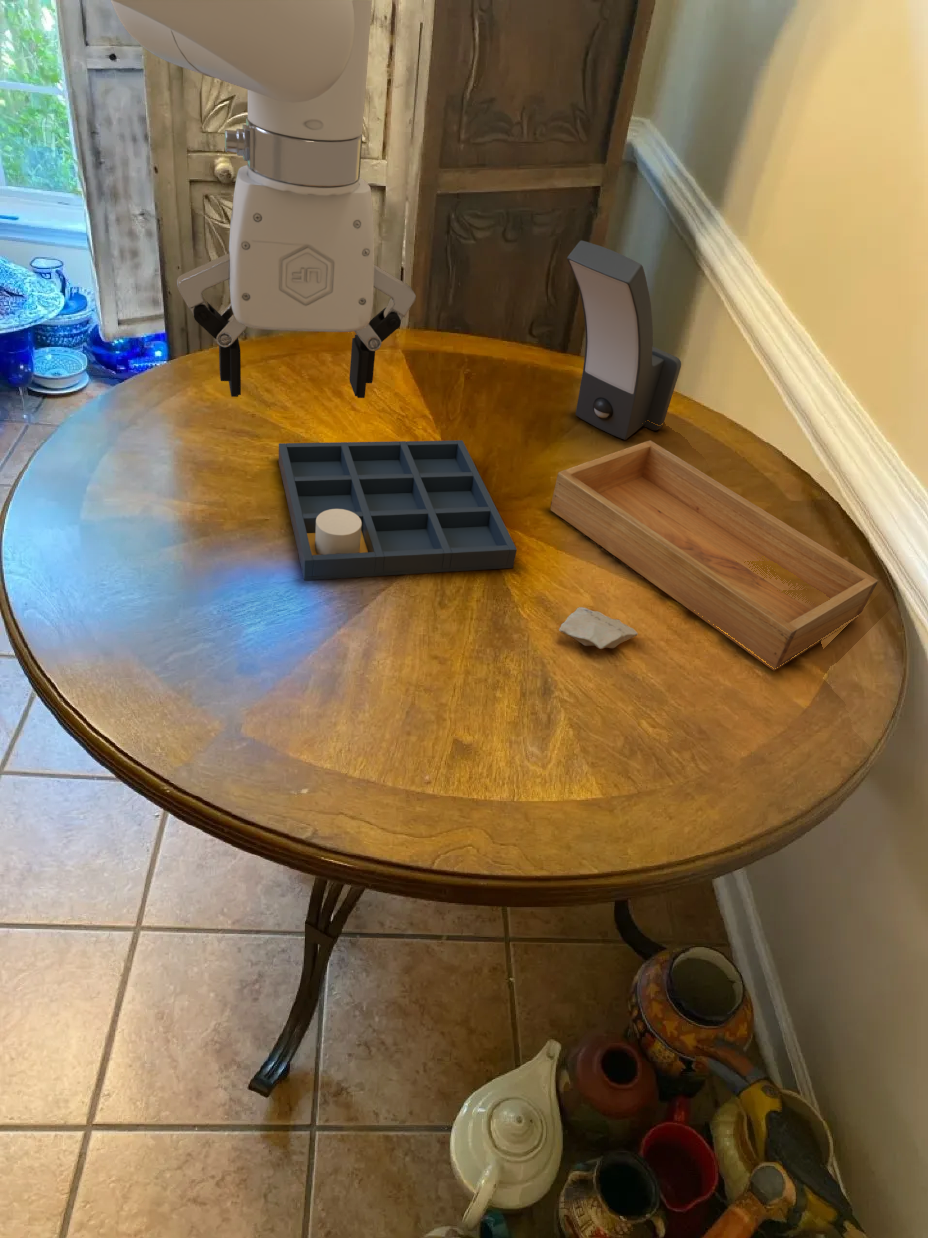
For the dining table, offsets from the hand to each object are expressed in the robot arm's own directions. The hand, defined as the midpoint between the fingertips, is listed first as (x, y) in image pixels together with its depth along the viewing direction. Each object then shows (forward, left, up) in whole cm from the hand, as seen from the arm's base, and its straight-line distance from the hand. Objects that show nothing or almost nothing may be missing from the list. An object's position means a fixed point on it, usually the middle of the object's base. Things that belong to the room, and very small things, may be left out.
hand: (296, 389), depth 72 cm
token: (+5, +5, -20) cm, 21 cm away
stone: (+27, -10, -21) cm, 35 cm away
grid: (+12, +12, -21) cm, 27 cm away
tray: (+43, 0, -21) cm, 48 cm away
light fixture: (+42, +28, -21) cm, 55 cm away
